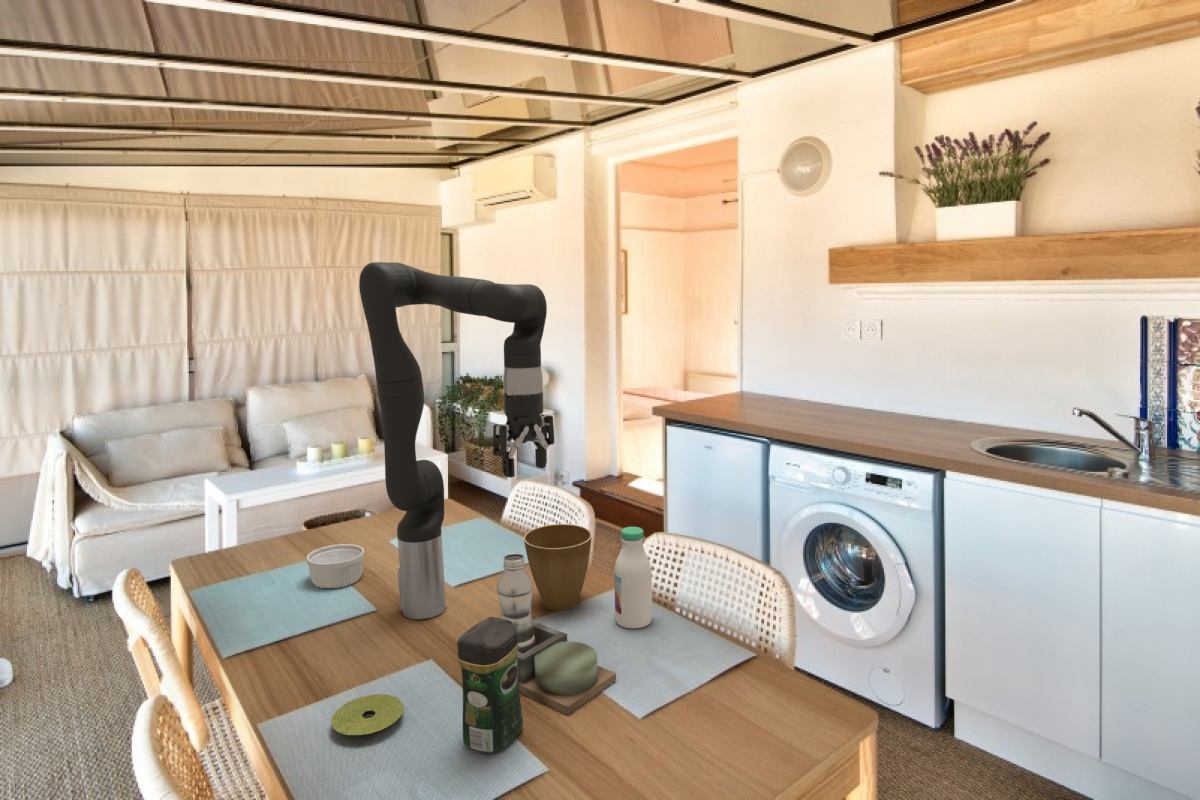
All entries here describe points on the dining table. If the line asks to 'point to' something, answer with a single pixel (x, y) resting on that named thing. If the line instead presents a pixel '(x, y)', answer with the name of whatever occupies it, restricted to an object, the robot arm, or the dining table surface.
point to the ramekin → (336, 565)
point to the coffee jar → (490, 685)
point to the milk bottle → (633, 581)
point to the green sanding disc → (367, 714)
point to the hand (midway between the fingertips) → (525, 472)
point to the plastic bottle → (517, 599)
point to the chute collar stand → (560, 671)
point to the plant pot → (558, 562)
